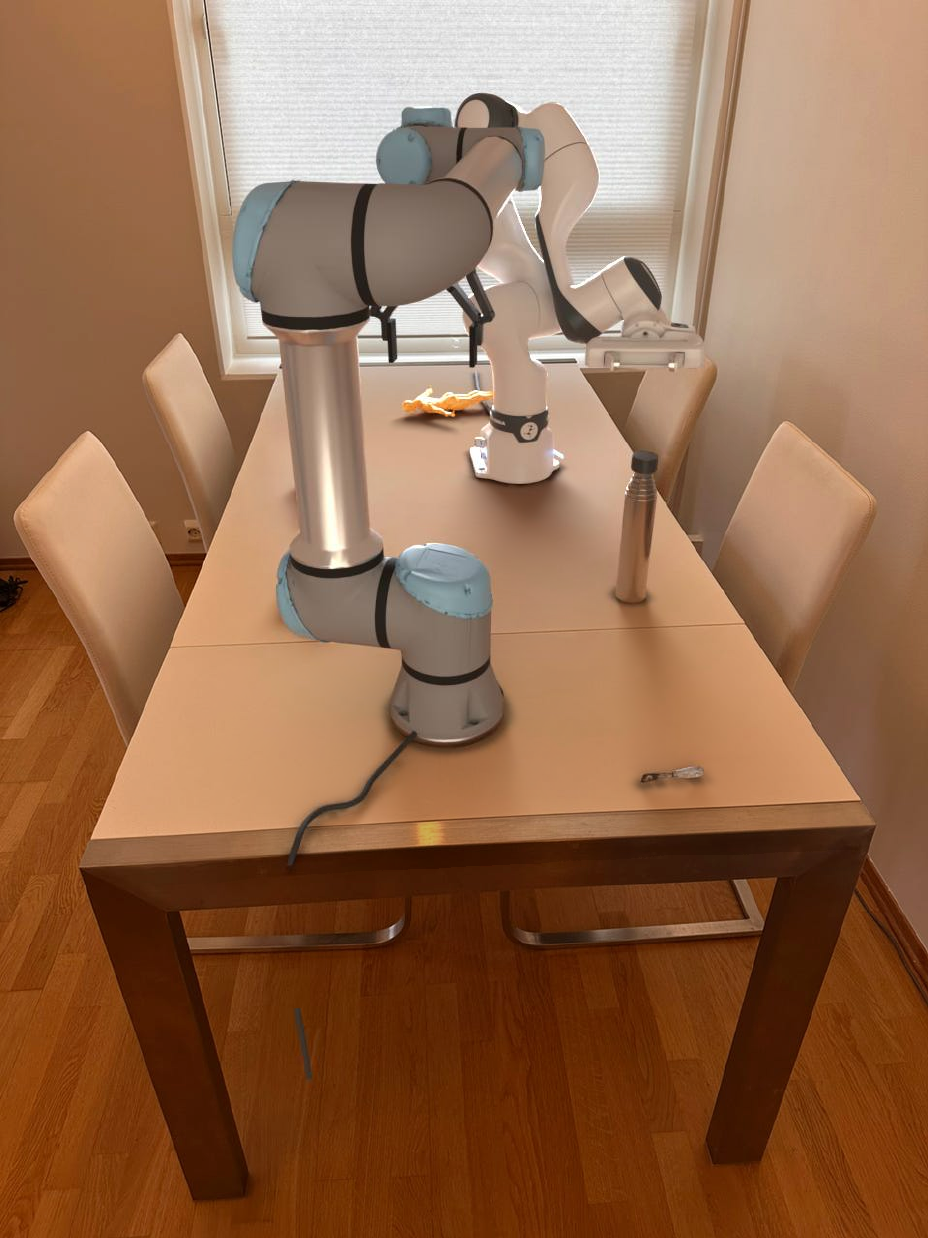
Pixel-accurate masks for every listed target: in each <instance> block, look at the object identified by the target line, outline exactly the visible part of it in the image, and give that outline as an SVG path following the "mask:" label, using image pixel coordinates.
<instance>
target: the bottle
mask: <svg viewBox="0 0 928 1238" xmlns="http://www.w3.org/2000/svg"><path fill="white" fill-rule="evenodd" d="M654 477H655V476H654V474H653V473H651V474H640V473H636V472H634V473H633V474H632V477H631V478H630V481H629V482H628V485H627V487H626V490H625V493H624V503H623V512H622V513H623V514H622V522H621V532H620V544H619V554H618V564H617V572H616V583H615V593H614V594H615V597H616V598H617V599H618V600H619V601H622V602H625V603H628V604H630V603H631V604H633V603H634V604H636V603H641V602H642V601H644V600H645V598H646V592H647V583H648V575H649V567H650V560H651V559H650V558H651V552H652V551H651V550H652V543H653V535H654V525H655V518H656V508H657V501H658V489H657V485H656V483H655V482H656V480H655V479H654Z"/></svg>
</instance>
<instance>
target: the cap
mask: <svg viewBox="0 0 928 1238" xmlns="http://www.w3.org/2000/svg"><path fill="white" fill-rule="evenodd" d="M630 463H631V465H630V468H631V471H632V472H634V473H635V472H636V473H640V474H651V473H652V474H654V473H656V472H657V471H658V467H659V454H657V452H656V453H655V452H654V451H648V450H638V451H635V452H633V453H632V456H631V462H630Z"/></svg>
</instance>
